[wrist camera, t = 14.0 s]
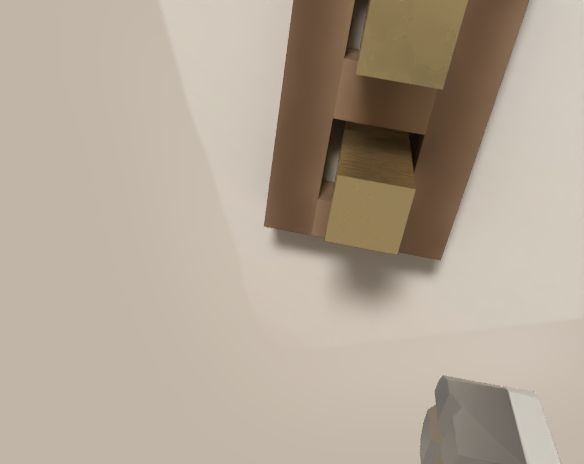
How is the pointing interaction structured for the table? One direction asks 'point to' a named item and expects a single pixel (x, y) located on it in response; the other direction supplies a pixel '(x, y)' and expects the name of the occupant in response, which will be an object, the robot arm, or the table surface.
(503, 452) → the robot arm
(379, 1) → the seated billet
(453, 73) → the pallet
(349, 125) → the block
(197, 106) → the table surface
